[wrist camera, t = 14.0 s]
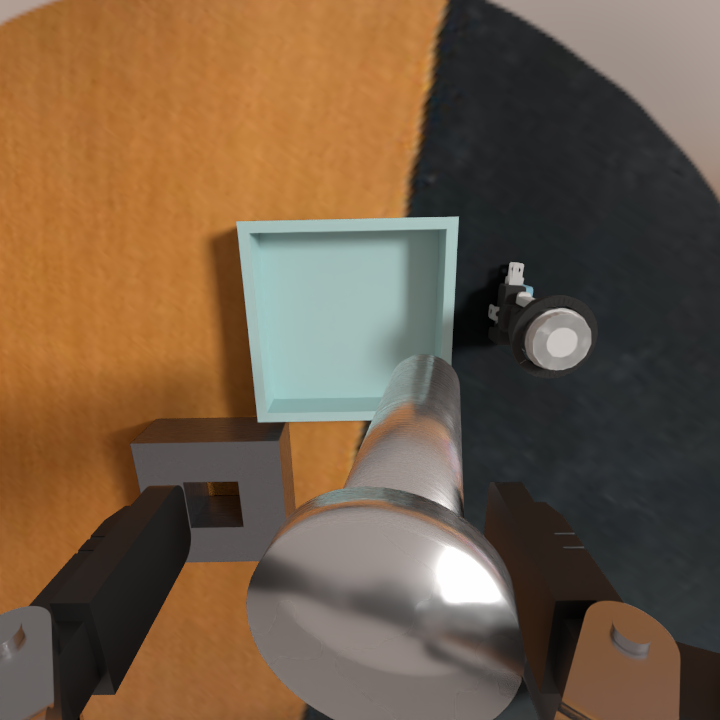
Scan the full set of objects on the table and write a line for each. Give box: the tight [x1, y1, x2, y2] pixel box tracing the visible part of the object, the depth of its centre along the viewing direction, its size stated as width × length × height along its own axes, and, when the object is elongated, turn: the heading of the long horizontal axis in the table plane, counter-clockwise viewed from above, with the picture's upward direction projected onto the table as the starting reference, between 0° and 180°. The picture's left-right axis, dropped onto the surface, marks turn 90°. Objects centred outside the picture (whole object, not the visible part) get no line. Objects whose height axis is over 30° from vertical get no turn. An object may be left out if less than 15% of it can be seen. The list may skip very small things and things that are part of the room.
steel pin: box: [246, 354, 525, 720], centre depth 13 cm, size 5×5×12 cm
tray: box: [237, 217, 459, 422], centre depth 33 cm, size 16×16×4 cm
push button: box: [488, 262, 598, 378], centre depth 29 cm, size 7×5×10 cm
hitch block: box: [130, 417, 296, 562], centre depth 37 cm, size 12×12×4 cm
